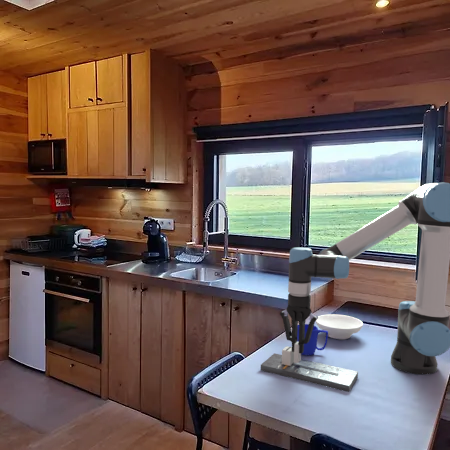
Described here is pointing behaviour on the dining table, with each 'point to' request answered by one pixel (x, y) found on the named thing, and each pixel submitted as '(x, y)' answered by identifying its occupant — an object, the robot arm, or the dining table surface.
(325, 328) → the bowl
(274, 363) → the console
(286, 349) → the block
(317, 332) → the mug
